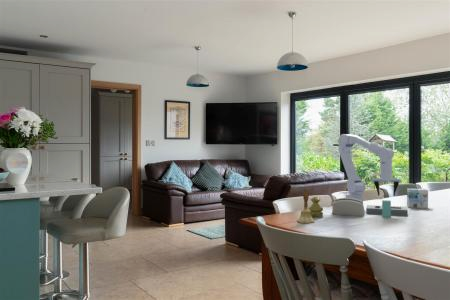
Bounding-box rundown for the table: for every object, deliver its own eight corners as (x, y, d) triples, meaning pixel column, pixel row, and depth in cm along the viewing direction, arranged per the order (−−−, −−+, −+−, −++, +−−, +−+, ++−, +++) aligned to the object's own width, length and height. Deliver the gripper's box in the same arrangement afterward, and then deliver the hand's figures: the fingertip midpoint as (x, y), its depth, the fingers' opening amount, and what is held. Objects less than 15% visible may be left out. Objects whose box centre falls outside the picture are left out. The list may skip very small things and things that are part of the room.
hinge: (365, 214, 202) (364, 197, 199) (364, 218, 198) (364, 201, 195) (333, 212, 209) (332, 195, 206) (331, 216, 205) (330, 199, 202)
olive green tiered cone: (323, 217, 193) (323, 198, 193) (308, 217, 194) (308, 197, 194) (322, 215, 200) (322, 196, 200) (308, 215, 202) (308, 196, 202)
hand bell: (302, 219, 189) (301, 187, 189) (317, 221, 184) (317, 188, 184) (294, 222, 183) (293, 188, 183) (309, 224, 177) (309, 189, 177)
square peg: (382, 216, 194) (382, 201, 194) (382, 215, 198) (382, 200, 198) (390, 217, 192) (390, 201, 192) (390, 216, 196) (390, 200, 196)
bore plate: (366, 213, 203) (366, 208, 203) (367, 210, 214) (367, 205, 214) (407, 215, 196) (407, 210, 196) (406, 212, 207) (406, 206, 207)
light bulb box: (408, 207, 223) (408, 189, 223) (406, 206, 230) (406, 188, 230) (428, 208, 220) (428, 189, 220) (426, 206, 227) (426, 188, 227)
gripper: (371, 170, 204) (371, 196, 204) (401, 171, 199) (401, 197, 199) (372, 170, 211) (372, 194, 211) (400, 170, 205) (400, 195, 205)
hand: (386, 195), depth 205 cm, fingers open, 7 cm apart
